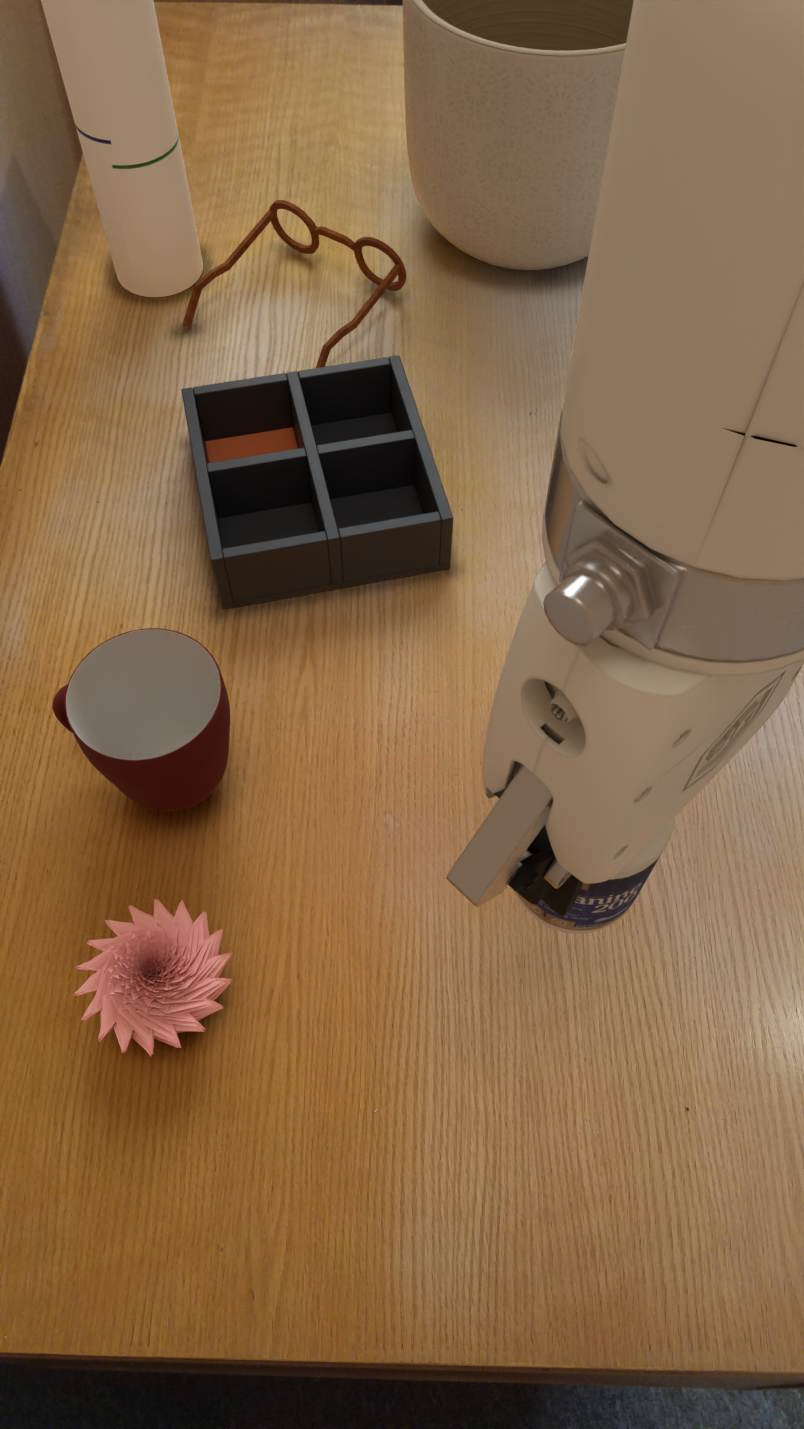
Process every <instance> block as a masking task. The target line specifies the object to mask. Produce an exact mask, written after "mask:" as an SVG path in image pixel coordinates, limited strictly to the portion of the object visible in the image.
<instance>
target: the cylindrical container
mask: <svg viewBox="0 0 804 1429" xmlns="http://www.w3.org/2000/svg"><path fill="white" fill-rule="evenodd" d="M40 1H41V6H42V10H43V14H44V17H45V21H46V25H47V28H48V32H49V35H50V39H51V42H52V46H53V50H54V53H55V56H56V61H57V64H58V68H59V72H60V75H61V79H62V82H63V86H64V89H65V94H66V97H67V100H68V103H69V108H70V111H71V114H72V118H73V122H74V125H75V129H76V133H77V136H78V140H79V144H80V147H81V152H82V155H83V159H84V162H85V163H84V164H85V166H86V169H87V173H88V177H89V181H90V184H91V189H92V192H93V195H94V199H95V202H96V206H97V211H98V213H99V217H100V221H101V224H102V228H103V231H104V235H105V239H106V243H107V246H108V250H109V253H110V257H111V260H112V265H113V268H114V271H115V272H114V273H115V274H116V279H117V281H118V283H119V284H120V286H121V287H122V288H124V289H125V291H128V292H129V293H131V294H134V295H137V296H140V297H145V298H165V297H169V296H173V295H177V294H179V293H182V292H184V291H186V290H188V289H190V288H191V287H192V286H194V285H195V284H196V283H197V282H198V281H199V280H200V279H201V278H200V277H201V276H202V274H203V270H204V261H203V255H202V251H201V246H200V241H199V235H198V231H197V225H196V220H195V213H194V208H193V204H192V199H191V192H190V188H189V181H188V177H187V172H186V165H185V161H184V155H183V152H182V151H183V150H182V145H181V140H180V135H179V130H178V129H179V128H178V124H177V118H176V114H175V108H174V102H173V97H172V91H171V87H170V82H169V75H168V70H167V64H166V60H165V54H164V49H163V44H162V38H161V33H160V28H159V22H158V18H157V11H156V7H155V2H154V0H40Z"/></svg>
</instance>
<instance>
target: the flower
mask: <svg viewBox="0 0 804 1429" xmlns="http://www.w3.org/2000/svg"><path fill="white" fill-rule="evenodd" d="M127 908H128V911H129V914H130V916H131V922H127V921H126V922H125V921H117V920H111V919H104V923H105V924H106V926H107V927H108V928H109V929H110V930H111V931H113V933H114V934H115V935H116V936H115V937H108V938H98V939H89V940H87V942H86V943H85V944H86V945H88V946H90V947H93V948H94V949H96V950H98V951H100V953H99V954H98V955H96V956H95V957H93V958H91V959H90V960H87V961H85V962H84V963H81V964H79V965H76V966H75V968H74V969H75V970H77V971H88V972H91V973H92V972H93V973H92V974H91V975H89V977H88V978H87V979H86V981H85V982H84V983H83V984H82V985H81V986H80V987H79V988H78V989H77V990H76V991H75V992H74V993H73V996H72V997H76V998H77V997H81V996H84V995H85V996H86V995H88V994H93V993H95V994H94V996H93V998H92V1000H91V1001H90V1003H89V1004H88V1007H87V1008H86V1010H85V1012H84V1014H83V1015H82V1017H81V1019H80V1022H83V1023H84V1022H86V1021H87V1020H89V1019H91V1018H93V1017H94V1016H95V1015H97V1014H98V1013H100V1030H99V1034H98V1038H97V1040H98V1043H101V1042H102V1041H103V1040H104V1039H105V1037H106V1036H107V1035H108V1034H109V1033H110V1032H111V1030H114V1033H115V1036H116V1038H117V1041H118V1044H119V1046H120V1050H121V1054H124V1055H125V1054H126V1052H127V1051H128V1048H129V1045H130V1042H131V1040H132V1039H133V1040H134V1041H135V1042H136V1043H137V1044H138V1045H139V1046H140V1047H141V1048H143V1049H144V1050H145V1051H146V1052H147V1053H148V1055H149V1056H150V1057H152V1055H154V1049H155V1040H157V1041H158V1042H159V1041H160V1042H162V1043H163V1044H164V1043H165V1044H167V1045H169V1046H171V1047H174V1048H177V1049H180V1048H181V1049H182V1045H181V1043H180V1042H181V1041H180V1039H179V1035H178V1034H180V1033H189V1032H194V1033H196V1032H197V1033H198V1032H199V1033H206V1032H205V1030H206V1028H205V1027H204V1026H203V1024H201V1023H200V1021H201V1020H203V1019H205V1017H208V1016H210V1015H212V1014H214V1013H216V1012H219V1011H221V1010H222V1009H224V1005H222V1004H220V1003H219V1002H217V1001H216V999H218V997H219V996H220V995H221V994H222V993H223V992H224V991H225V990H226V989H227V988H228V987H229V986H230V985H231V984H232V983H233V980H234V978H227V977H220V976H221V974H222V972H223V971H224V969H225V968H226V966H227V965H228V963H229V961H230V959H231V958H232V956H233V955H234V953H233V952H232V951H229V952H226V953H222V954H220V949H221V942H222V938H223V933H224V929H222V928H220V929H219V930H217V931H215V932H213V933H212V934H210V929H209V928H210V927H209V922H208V915H207V914H208V913H207V911H205V910H203V911H202V912H201V914H199V916H198V917H197V918H196V919H195V921H193V920H192V918H191V916H190V914H189V911H188V909H187V908H186V906H185V903H184V900H180V901H179V902H178V906H177V908H176V911H175V913H174V916H173V914H171V913H170V911H168V909H167V908H166V907H165V906H164V905H163V903H162V902H161V901H160V900H159V899H158V898H157V899H156V898H153V915H152V914H149V913H147V912H146V911H142V910H140V909H138V908H136V907H135V906H133V905H132V904H130V905H129V906H127Z"/></svg>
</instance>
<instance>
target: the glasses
mask: <svg viewBox="0 0 804 1429" xmlns="http://www.w3.org/2000/svg"><path fill="white" fill-rule="evenodd" d="M278 210H285V211H288V212H290V213H292V214H294V215H295V216H296V217H298V218H299V219H300V220H301V221H302V222H303V223H304V224H305V226H306V227H307V229H308V231H309V234H310V239H311V243H310V244H303V243H300V242H298V241H296V240H294V239H293V238H292V237H291V236H290V235H288V233H287V232H286V231H285V230H284V229H283V227H282V225H281V223H280V220H279V217H278ZM269 224H271V225H272V227H273V230H274V231H275V233H276V234H277V235H278V237H279V238H280V239H281V240H282V241H283V242H284V243H285V244H286V245H287V246H288V247H290V248H292V249H293V250H295V251H297V252H299V253H302V254H304V255H305V254H306V255H312V254H314V253H315V252H316V251H317V250H318V249H319V246H320V236H322V237H325V238H328V239H330V240H332V241H335V242H337V243H339V244H342V245H344V246H346V247H347V248H349V249H350V250H351V251H353V254H354V257H355V260H356V264H357V265H358V267H359V270H360V271H361V273H362V274H363V275H364V276H365V278H367V279H368V280H369V281H370V282H371V283H373V284H374V285H376V286H377V287H376V289H375V290H374V291H373V292H372V294H370V296H369V297H368V299H367V300H366V301H365V303H364V304H363V305H362V307H361V308H360V309H359V310H358V311H357V313H356V314H355V315H354V317H353V318H352V319H351V320H350V321H349V322H347V323H345V325H343V326H342V327H340V328H339V329H337V331H335V333H334V334H332V336H331V337H330V338H329V339H328V340H327V341H326V342H325V343H324V344H323V345H322V348H321V351H320V354H319V356H318V359H317V362H316V365H315V368H320V367H326V365H327V362H328V359H329V356H330V353H331V350H332V349H333V348H334V347H335V346H336V345H337V344H338V343H339V342H340V341H341V340H342V339H344V337H346V336H347V335H348V334H350V333H352V331H354V330H356V329H357V328H358V326H359V325H360V324H361V323H362V321H363V320H364V319H365V318H366V316H368V314H369V312H370V311H371V310H372V309H373V308H374V307H375V305H376V303H377V302H378V300H380V299H381V297H382V296H383V294H384V293H385V292H386V291H391V292H397V291H400V290H401V289H402V288H404V286H405V284H406V282H407V269H406V266H405V265H404V264H405V263H404V262H403V260H402V258H401V257H400V256H399V254H398V253H397V252H396V251H395V250H394V248H392V247H391V246H390V245H389V244H387V243H386V242H384V241H382V240H381V239H378V238H375V237H373V236H372V237H371V236H362V237H360V238H357V239H356V240H355V241H354V240H352V239H351V238H350V237H348V236H346V234H343V233H340V232H338V231H336V230H333V229H331V228H329V227H326V226H322V225H321V226H317V225H316V223H315V221H314V220H313V219H312V218H311V216H309V215H308V214H307V212H305V211H304V210H303V209H302V208H301V207H299V206H298V205H296V204H295V203H293V202H291V201H288V200H284V199H276V200H274V202H272V204H271V205H270V206H269V209H268V210H267V212H265V214H264V215H263V216H262V217H261V218H260V220H259V221H258V222H257V223H256V224H255V225H254V227H252V229H251V230H250V231H249V233H248V234H247V235H246V236H245V237H244V238H243V240H242V241H241V242H240V243H239V245H238V246H237V247H235V249H234V250H233V252H232V253H231V254H230V255H229V256H228V257H227V259H226V260H224V262H223V263H221V264H219V265H217V266H215V267H214V268H212V269H211V270H209V271H208V272H207V273H206V274H204V275H203V276H202V277H201V278H199V279H198V280H197V281H196V282H195V284H193V285H192V286H193V287H192V290H191V294H190V296H189V301H188V304H187V307H186V310H185V314H184V317H183V321H182V324H181V326H183V327H186V328H188V329H191V328H192V324H193V321H194V318H195V315H196V311H197V307H198V304H199V302H200V298H201V294H202V291H203V289H204V288H205V287H207V285H209V284H210V283H212V281H214V280H215V279H216V278H217V277H219V276H221V275H223V274H225V273H227V272H229V271H230V270H231V269H232V268H233V267H234V265H235V264H236V263H237V262H238V260H240V259H241V257H242V256H243V254H245V252H246V251H247V250H248V249H249V248H250V246H251V245H252V244H253V243H254V242H255V241H256V239H257V238H258V237H259V236H260V235H261V233H262V232H263V231H264V230H265V229H266V227H268V225H269ZM365 247H372V248H375V249H377V250H379V251H381V252H382V253H384V254H385V255H386V256H388V258H389V259H390V260H391V261H392V263H393V264H394V265H393V267H392V268H391V269H390V270H389V272H388V273H387V275H386V276H385V277H384V278H381V277H380V276H378V275H377V274H375V273H374V272H373V270H371V269H370V268H369V266H368V265H367V262H366V261H365V257H364V255H363V248H365ZM396 278H397V280H396V281H394V280H395V279H396Z"/></svg>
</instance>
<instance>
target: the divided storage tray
mask: <svg viewBox="0 0 804 1429" xmlns="http://www.w3.org/2000/svg"><path fill="white" fill-rule="evenodd" d="M180 390H181V395H182V402H183V410H184V414H185V420H186V427H187V431H188V437H189V443H190V449H191V455H192V461H193V466H194V467H193V468H194V472H195V479H196V484H197V490H198V495H199V496H198V497H199V501H200V508H201V513H202V520H203V525H204V530H205V536H206V542H207V548H208V554H209V561H210V565H211V568H212V572H213V576H214V580H215V585H216V588H217V592H218V597H219V600H220V604H221V607H222V610H227V609H233V608H239V607H245V606H249V605H254V604H261V603H267V602H271V601H278V600H284V599H289V598H294V597H299V596H304V595H312V594H316V593H322V592H327V591H332V590H339V589H343V588H349V587H355V586H361V585H367V584H371V583H378V582H383V581H387V580H393V579H399V578H405V577H409V576H411V577H412V576H415V575H416V576H417V575H421V574H427V573H432V572H438V571H443V570H449V569H450V568H451V561H452V560H451V559H452V544H453V531H454V515H453V512H452V510H451V506H450V503H449V500H448V497H447V494H446V491H445V488H444V485H443V481H442V479H441V475H440V473H439V470H438V467H437V464H436V462H435V458H434V455H433V452H432V448H431V445H430V442H429V440H428V436H427V435H426V431H425V428H424V425H423V422H422V419H421V415H420V413H419V410H418V407H417V404H416V400H415V398H414V395H413V392H412V388H411V386H410V383H409V380H408V377H407V374H406V371H405V368H404V365H403V362H402V358H401V356H400V355H399V354H397V355H391V356H386V357H379V358H372V359H366V360H359V361H354V362H347V363H340V364H333V365H327V366H325V367H320V368H316V367H313V368H309V369H301V370H298V371H297V370H294V371H287V372H282V373H274V374H269V375H263V376H255V377H249V378H244V379H237V380H230V381H224V382H218V383H211V384H205V385H204V384H203V385H198V386H193V387H184V388H181V389H180Z"/></svg>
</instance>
